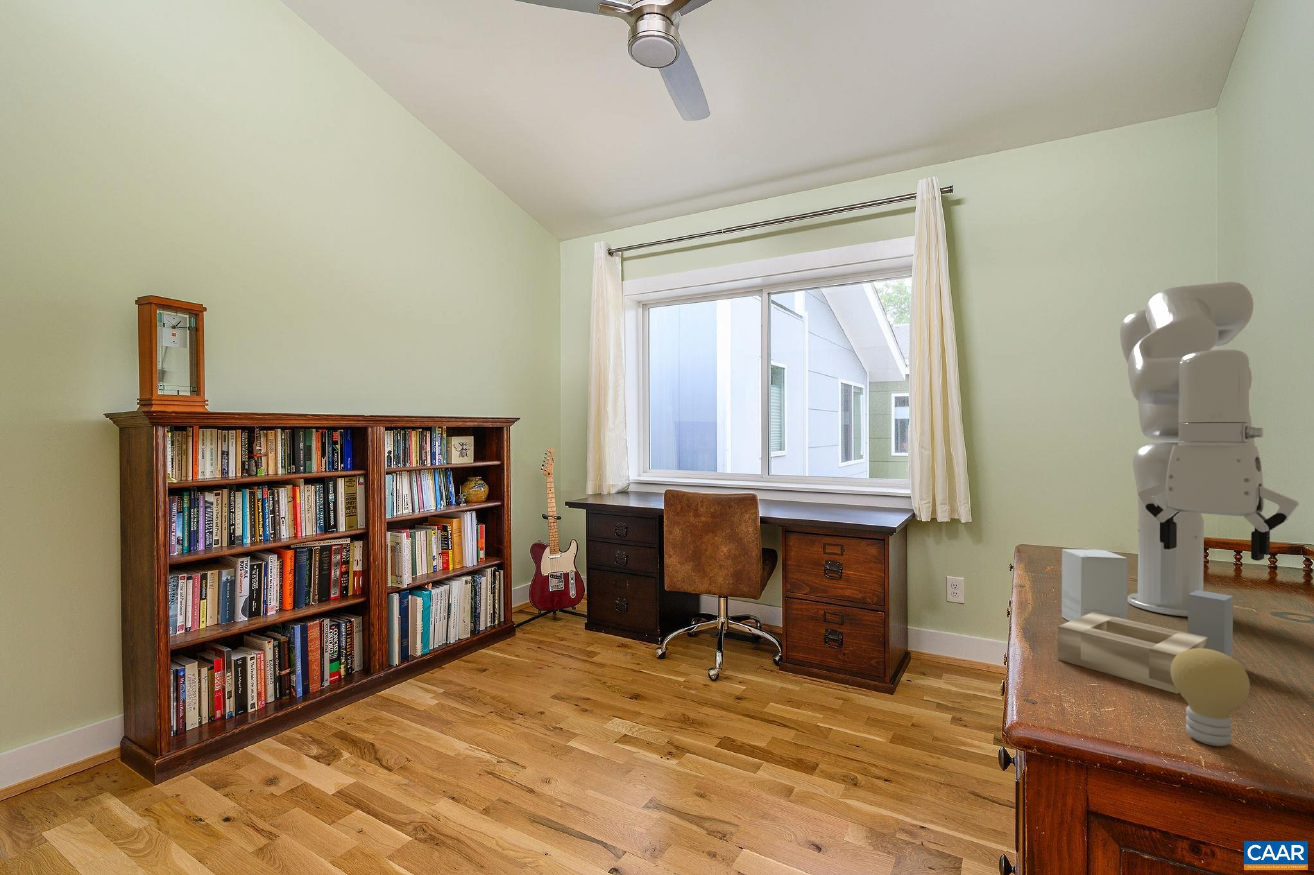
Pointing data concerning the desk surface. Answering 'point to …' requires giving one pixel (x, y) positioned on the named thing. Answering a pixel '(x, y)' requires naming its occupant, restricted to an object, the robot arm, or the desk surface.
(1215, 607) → the grey rectangular prism
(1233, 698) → the light bulb
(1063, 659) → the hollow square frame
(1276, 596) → the desk surface
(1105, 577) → the supplement box
